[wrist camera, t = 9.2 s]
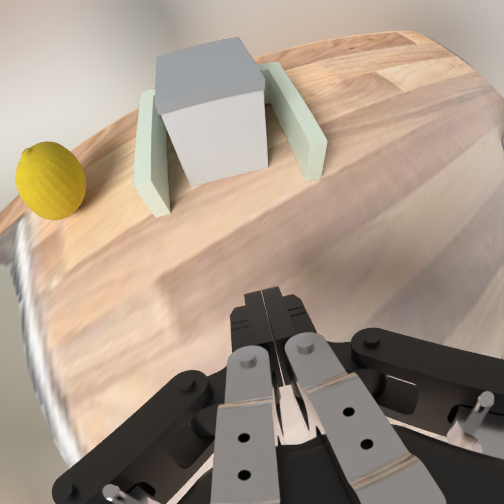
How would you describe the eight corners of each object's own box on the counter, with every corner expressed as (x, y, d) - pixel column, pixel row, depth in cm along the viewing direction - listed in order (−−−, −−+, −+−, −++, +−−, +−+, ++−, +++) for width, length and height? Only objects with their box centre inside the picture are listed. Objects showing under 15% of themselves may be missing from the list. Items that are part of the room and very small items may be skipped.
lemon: (104, 174, 22) (60, 112, 15) (98, 226, 20) (39, 165, 13) (59, 192, 22) (12, 141, 15) (50, 242, 20) (-9, 194, 13)
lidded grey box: (248, 113, 24) (238, 36, 16) (269, 168, 21) (264, 78, 14) (182, 129, 24) (157, 56, 16) (189, 188, 21) (154, 105, 13)
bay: (278, 95, 25) (277, 61, 21) (320, 179, 20) (327, 140, 16) (154, 123, 24) (141, 92, 21) (155, 217, 20) (133, 186, 16)
